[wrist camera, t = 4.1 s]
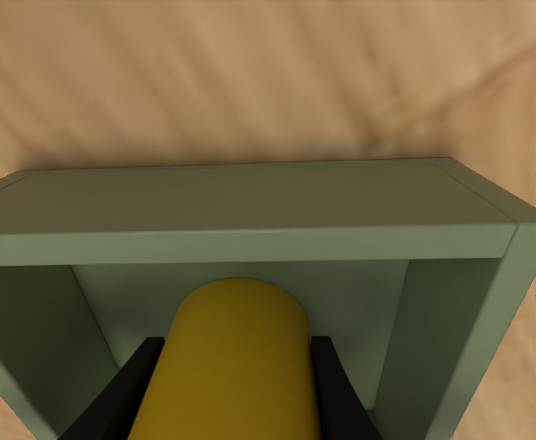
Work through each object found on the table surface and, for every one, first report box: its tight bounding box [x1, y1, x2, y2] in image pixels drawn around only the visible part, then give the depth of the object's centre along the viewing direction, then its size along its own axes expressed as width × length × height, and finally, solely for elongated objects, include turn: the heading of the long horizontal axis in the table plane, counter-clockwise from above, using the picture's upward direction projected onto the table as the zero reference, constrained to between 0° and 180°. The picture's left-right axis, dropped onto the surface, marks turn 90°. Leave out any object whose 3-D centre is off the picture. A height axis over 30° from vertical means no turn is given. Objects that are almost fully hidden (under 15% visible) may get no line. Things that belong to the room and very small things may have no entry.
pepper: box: [127, 278, 322, 440], centre depth 9 cm, size 5×5×7 cm
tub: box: [0, 157, 536, 440], centre depth 11 cm, size 14×14×4 cm
